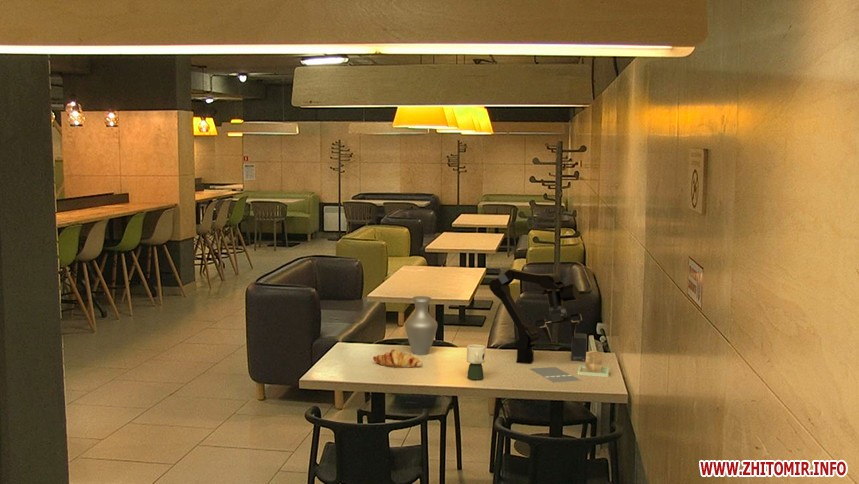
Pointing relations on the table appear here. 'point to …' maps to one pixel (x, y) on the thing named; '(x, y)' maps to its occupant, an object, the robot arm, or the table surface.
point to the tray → (603, 373)
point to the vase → (421, 327)
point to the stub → (593, 361)
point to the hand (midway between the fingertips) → (562, 341)
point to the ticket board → (555, 374)
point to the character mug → (475, 361)
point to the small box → (579, 347)
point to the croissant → (397, 359)
